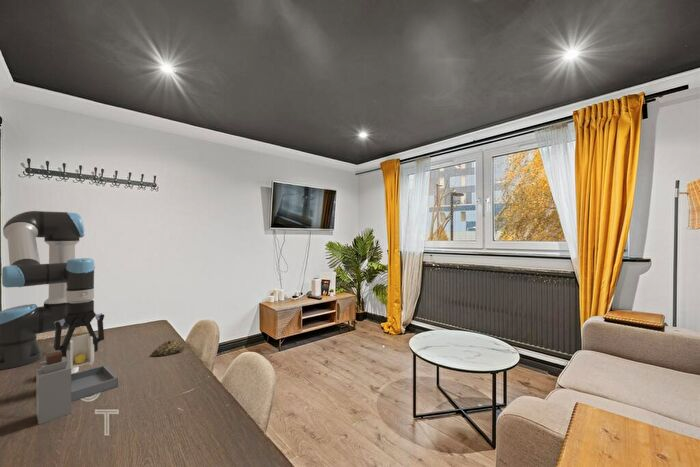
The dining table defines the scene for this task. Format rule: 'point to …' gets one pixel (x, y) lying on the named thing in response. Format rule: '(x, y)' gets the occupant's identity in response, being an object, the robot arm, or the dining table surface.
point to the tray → (92, 382)
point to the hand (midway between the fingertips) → (79, 364)
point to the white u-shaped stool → (81, 350)
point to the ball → (80, 358)
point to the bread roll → (169, 348)
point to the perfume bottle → (53, 388)
